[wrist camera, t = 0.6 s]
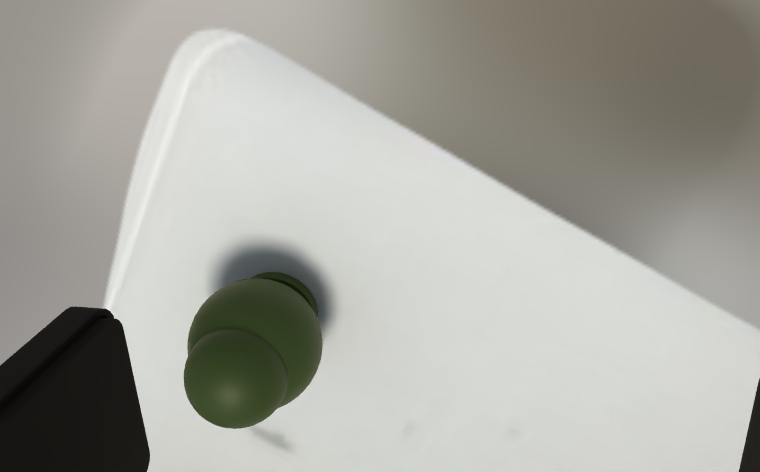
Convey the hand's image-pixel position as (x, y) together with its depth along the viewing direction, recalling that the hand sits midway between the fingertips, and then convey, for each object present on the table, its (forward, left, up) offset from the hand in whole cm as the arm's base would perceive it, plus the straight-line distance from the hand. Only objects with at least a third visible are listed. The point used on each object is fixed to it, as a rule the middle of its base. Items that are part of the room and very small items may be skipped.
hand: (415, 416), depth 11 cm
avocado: (+10, -11, -21) cm, 26 cm away
